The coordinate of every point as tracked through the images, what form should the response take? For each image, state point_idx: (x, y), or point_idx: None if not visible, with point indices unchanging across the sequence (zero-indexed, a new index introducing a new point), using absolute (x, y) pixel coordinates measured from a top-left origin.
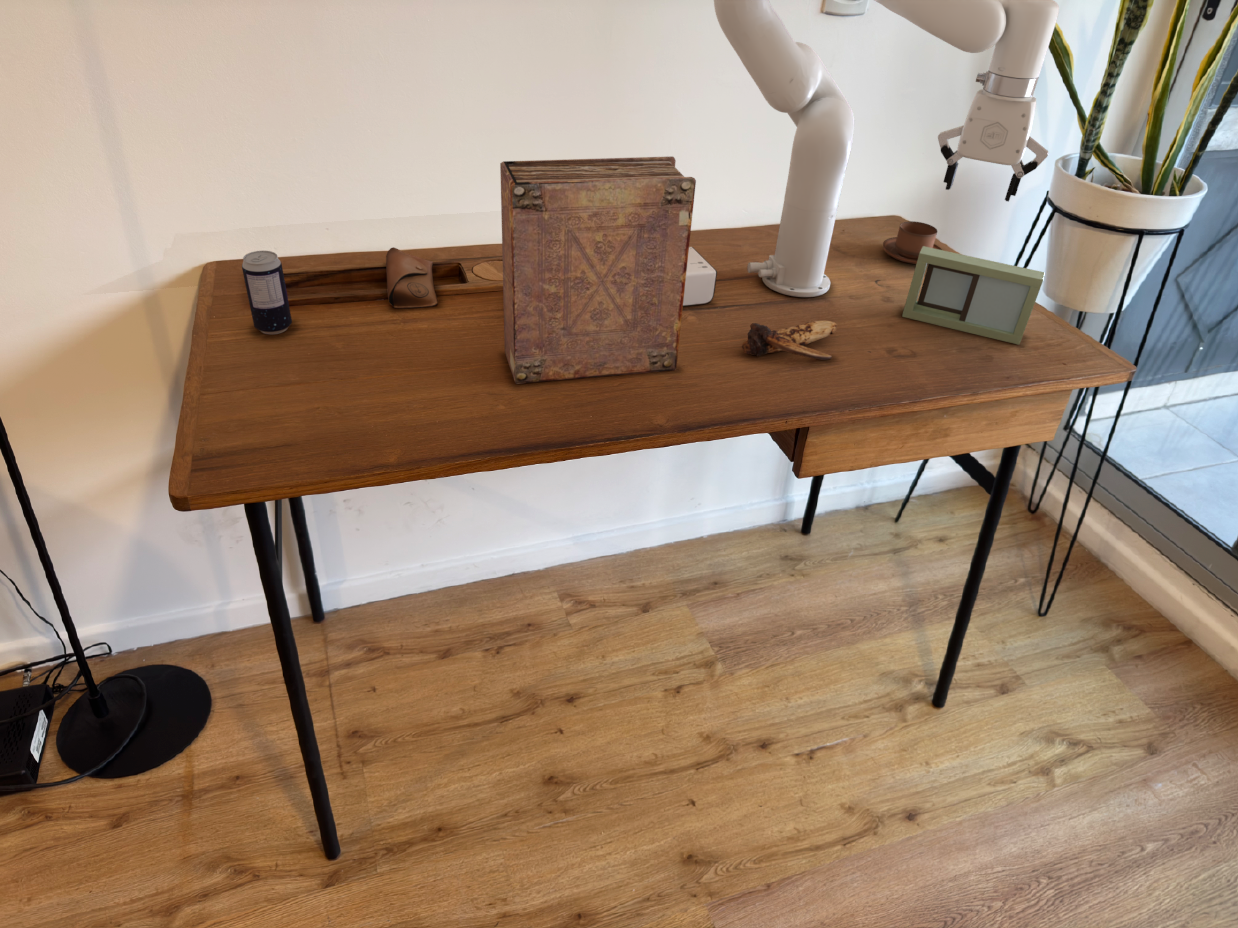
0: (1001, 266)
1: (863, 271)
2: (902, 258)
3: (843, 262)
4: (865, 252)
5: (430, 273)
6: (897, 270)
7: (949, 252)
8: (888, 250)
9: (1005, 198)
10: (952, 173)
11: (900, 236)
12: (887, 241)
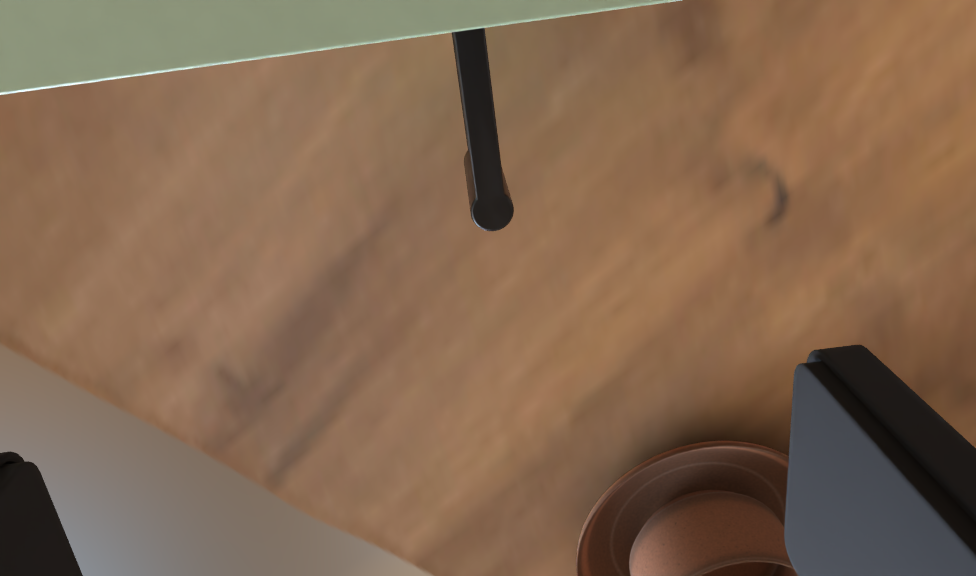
0: (27, 3)
1: (855, 268)
2: (727, 443)
3: (956, 300)
4: None
5: None
6: (717, 376)
7: (469, 10)
8: None
9: (11, 472)
10: (967, 495)
11: None
12: None
